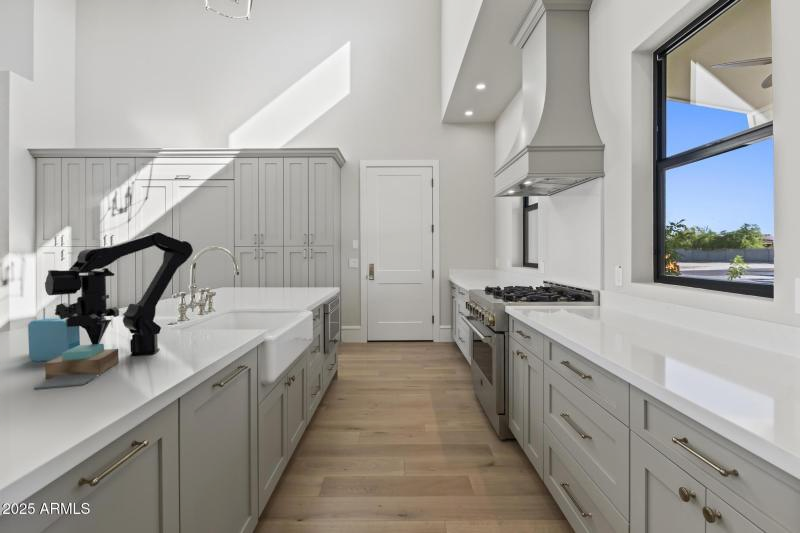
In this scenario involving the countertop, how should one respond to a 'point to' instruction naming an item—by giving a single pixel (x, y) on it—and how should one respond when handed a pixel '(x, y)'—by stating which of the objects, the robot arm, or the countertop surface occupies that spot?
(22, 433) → the countertop surface
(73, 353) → the teal flat block
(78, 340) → the data package
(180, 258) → the robot arm
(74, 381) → the mat
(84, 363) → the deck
